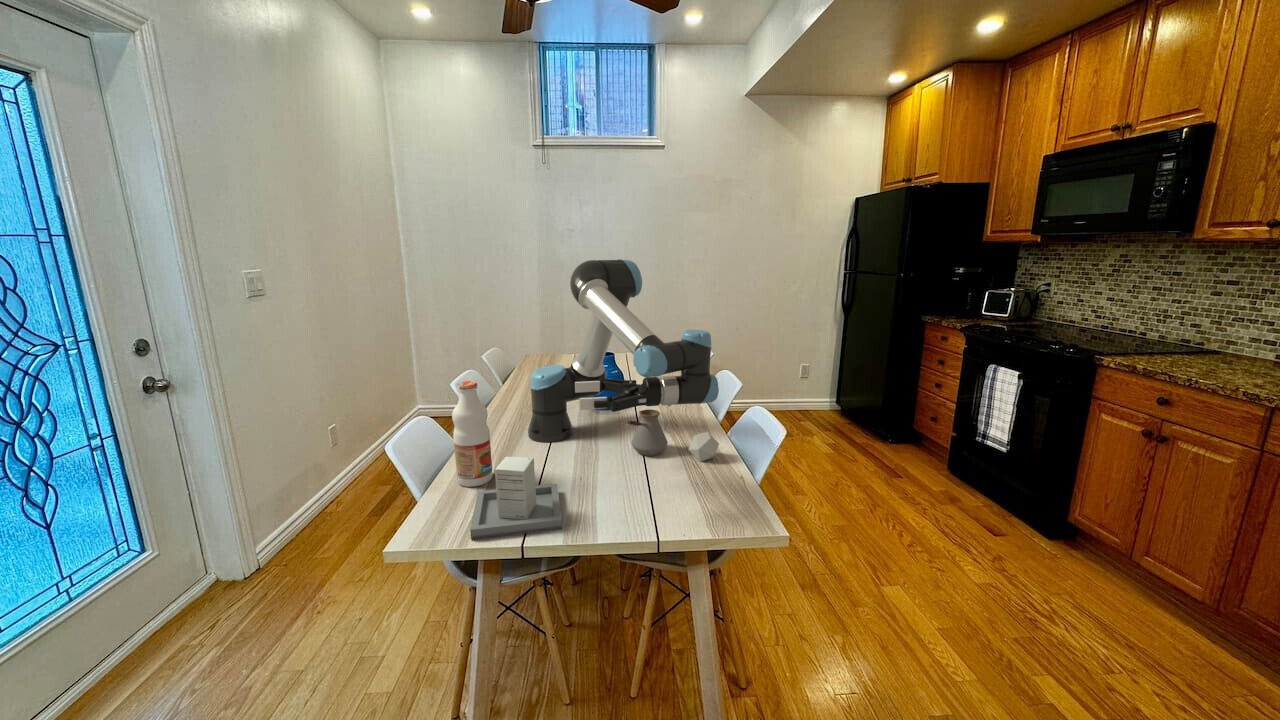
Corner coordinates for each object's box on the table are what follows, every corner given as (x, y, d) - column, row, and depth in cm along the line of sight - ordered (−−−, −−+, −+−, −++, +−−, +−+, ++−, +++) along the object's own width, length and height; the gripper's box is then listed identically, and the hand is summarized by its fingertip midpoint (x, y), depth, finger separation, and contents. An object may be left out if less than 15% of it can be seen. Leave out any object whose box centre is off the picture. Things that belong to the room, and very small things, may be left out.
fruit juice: (458, 474, 142) (450, 379, 135) (492, 470, 144) (486, 377, 138) (456, 489, 133) (446, 389, 126) (492, 485, 135) (485, 386, 129)
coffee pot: (640, 441, 165) (640, 398, 162) (672, 447, 160) (673, 403, 157) (609, 466, 147) (608, 418, 143) (644, 474, 142) (644, 425, 138)
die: (706, 452, 158) (689, 430, 156) (727, 445, 153) (709, 422, 151) (697, 470, 152) (679, 447, 150) (719, 464, 147) (700, 440, 145)
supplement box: (508, 502, 125) (505, 455, 122) (537, 504, 124) (534, 457, 121) (497, 518, 117) (493, 469, 115) (527, 520, 117) (524, 470, 114)
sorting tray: (478, 500, 127) (478, 491, 127) (557, 492, 132) (557, 483, 131) (471, 539, 110) (470, 529, 110) (561, 529, 114) (561, 519, 114)
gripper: (671, 421, 119) (582, 427, 114) (648, 390, 142) (573, 394, 138) (672, 392, 117) (581, 396, 112) (648, 365, 140) (573, 368, 136)
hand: (577, 395), depth 125 cm, fingers open, 13 cm apart
